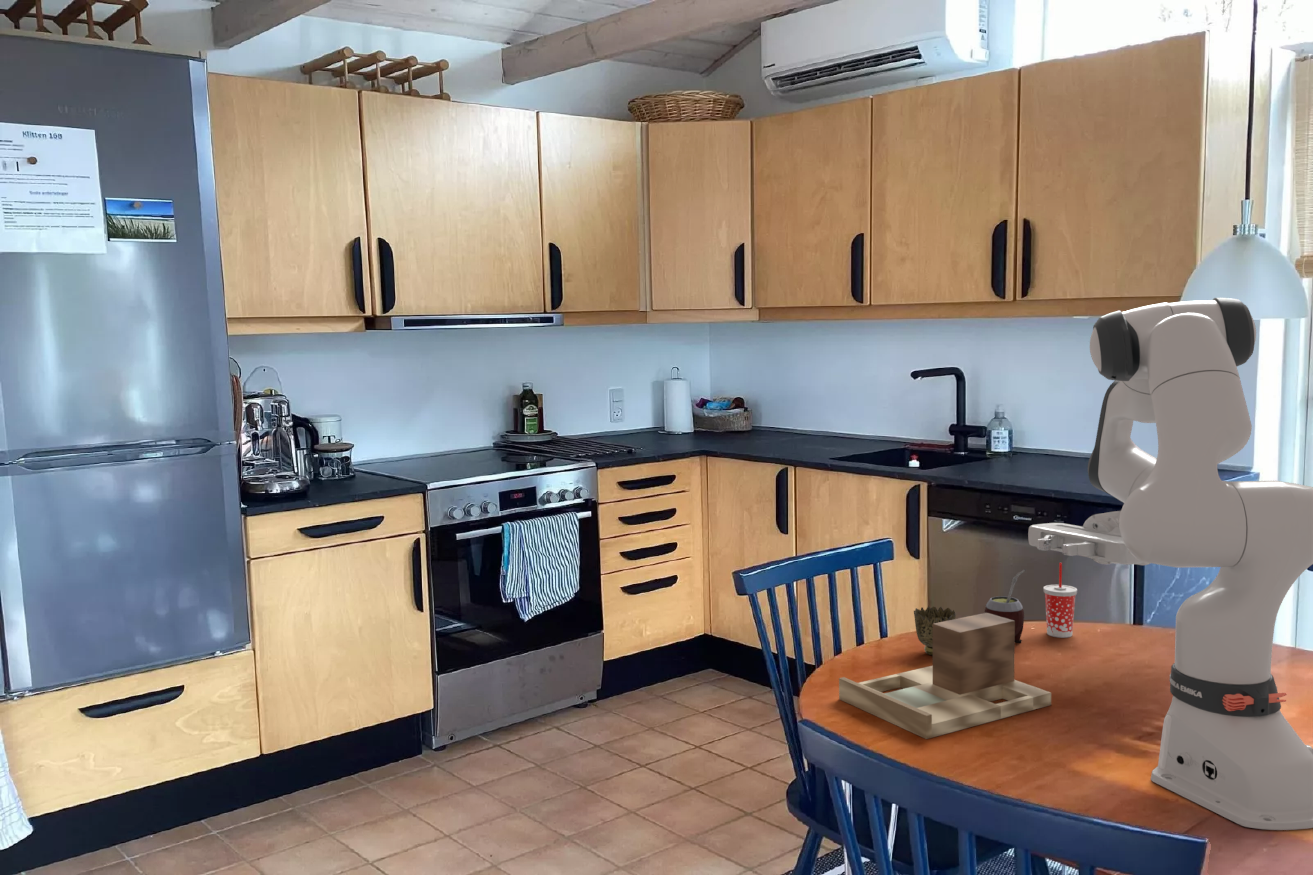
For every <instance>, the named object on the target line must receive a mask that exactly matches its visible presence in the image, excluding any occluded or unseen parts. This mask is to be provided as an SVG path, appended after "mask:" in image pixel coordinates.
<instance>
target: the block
mask: <svg viewBox="0 0 1313 875" xmlns="http://www.w3.org/2000/svg"><path fill="white" fill-rule="evenodd" d="M1015 644H1016V643H1015V621H1014V620H1010V619H1007V618H1004V617H1000V616H997V615H993V614H990V613H985V612H984V613H978V614H972V615H968V616H963V617H958V618H955V619H953V620H948V621H944V622H939V623H934V624H933V655H932V666H933V684H934V685H936V686H939V687H941V688H944V689H946V690H949V691H951V692H954V693H957V694H959V695H961V694H965V693H969V692H973V691H977V690H980V689H984V688H988V687H992V686H996V685H1000V684H1004V683H1008V682H1012V681H1014V680H1015V648H1016V646H1015Z"/></svg>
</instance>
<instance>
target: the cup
mask: <svg viewBox="0 0 1313 875" xmlns="http://www.w3.org/2000/svg"><path fill="white" fill-rule="evenodd" d="M913 617H914V623H915V631H916V632H915V633H916V636H917V639H918V641H919V642H920V643H921V644H922V645H924V647H923V649H924V652H925V653H926V654H927V655H929V656H933V624H934V623H939V622H944V621H948V620H953V619H956V618H957V613H956V611H955V610H954V609H953V610H952V609H951V608H950V607H947V608H945V609H944V608H943V607H942V606H940V607H939V608H938V609H937V607H936V606H932V607H930V605H929V606H927V607H926V609H924V607H921V608H920V609H919V608H918V607H917V608H915V610H913Z"/></svg>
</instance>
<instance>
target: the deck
mask: <svg viewBox="0 0 1313 875" xmlns="http://www.w3.org/2000/svg"><path fill="white" fill-rule="evenodd" d="M895 689H897V690H895ZM891 690H893V691H891ZM886 691H890V692H886ZM883 692H885V693H883ZM838 696H839V697H838V700H840V701H842V702H845V703H846V704H849V705H851V706H853V707H855V708H857V709H859V710H862V711H864V712H866V713H868V714H871V715H872V716H875V717H877V718H879V719H881V720H884V721H885V722H888V723H890V724H893V725H895V726H897V727H899V728H901V729H904V730H906V731H907V732H910V733H913V734H914V735H917V736H919V737H921V738H923V739H925V740H930V739H932V738H935V737H939V736H943V735H947V734H950V733H954V732H958V731H961V730H965V729H968V728H971V727H975V726H979V725H983V724H987V723H991V722H995V721H998V720H1002V719H1005V718H1009V717H1011V716H1012V717H1013V716H1016V715H1020V714H1023V713H1027V712H1030V711H1034V710H1036V709H1041V708H1045V707H1049V706H1052V692H1050V691H1048V690H1045V689H1042V688H1039V687H1036V686H1034V685H1031V684H1028V683H1025V682H1023V681H1020V680H1016V679H1014V681H1012V682H1008V683H1004V684H1000V685H996V686H992V687H988V688H984V689H980V690H977V691H973V692H969V693H965V694H961V695H959V694H957V693H954V692H951V691H949V690H946V689H944V688H941V687H939V686H936V685H934V684H933V665H930V666H925V667H920V668H916V669H912V670H908V671H903V672H898V673H895V674H890V675H886V676H882V677H877V678H872V679H869V680H864V681H859V682H856V681H854V680H852V679H849V678H847V677H845V676H843V677H839V678H838ZM1001 699H1003V700H1005V701H1003V702H1002V701H1001V702H998V703H994V702H995V701H997V700H1001Z"/></svg>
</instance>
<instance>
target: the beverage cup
mask: <svg viewBox="0 0 1313 875" xmlns="http://www.w3.org/2000/svg"><path fill="white" fill-rule="evenodd" d="M1058 564H1059V566H1058V584H1047V585H1045V586H1043V593H1044V599H1045V619H1046V621H1045V622H1046V634H1047V635H1048V636H1050V637H1052V638H1053V637H1054V638H1062V639H1063V638H1065V639H1066V638H1071V637H1072V636H1073V633H1074V632H1073V631H1074V630H1073V629H1074V618H1075V605H1076V604H1075V603H1076V595H1077V594H1078V588H1077V587H1075V586H1072V585H1066V584H1063V583H1062V580H1063V577H1062V576H1063V562H1059V563H1058Z"/></svg>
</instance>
